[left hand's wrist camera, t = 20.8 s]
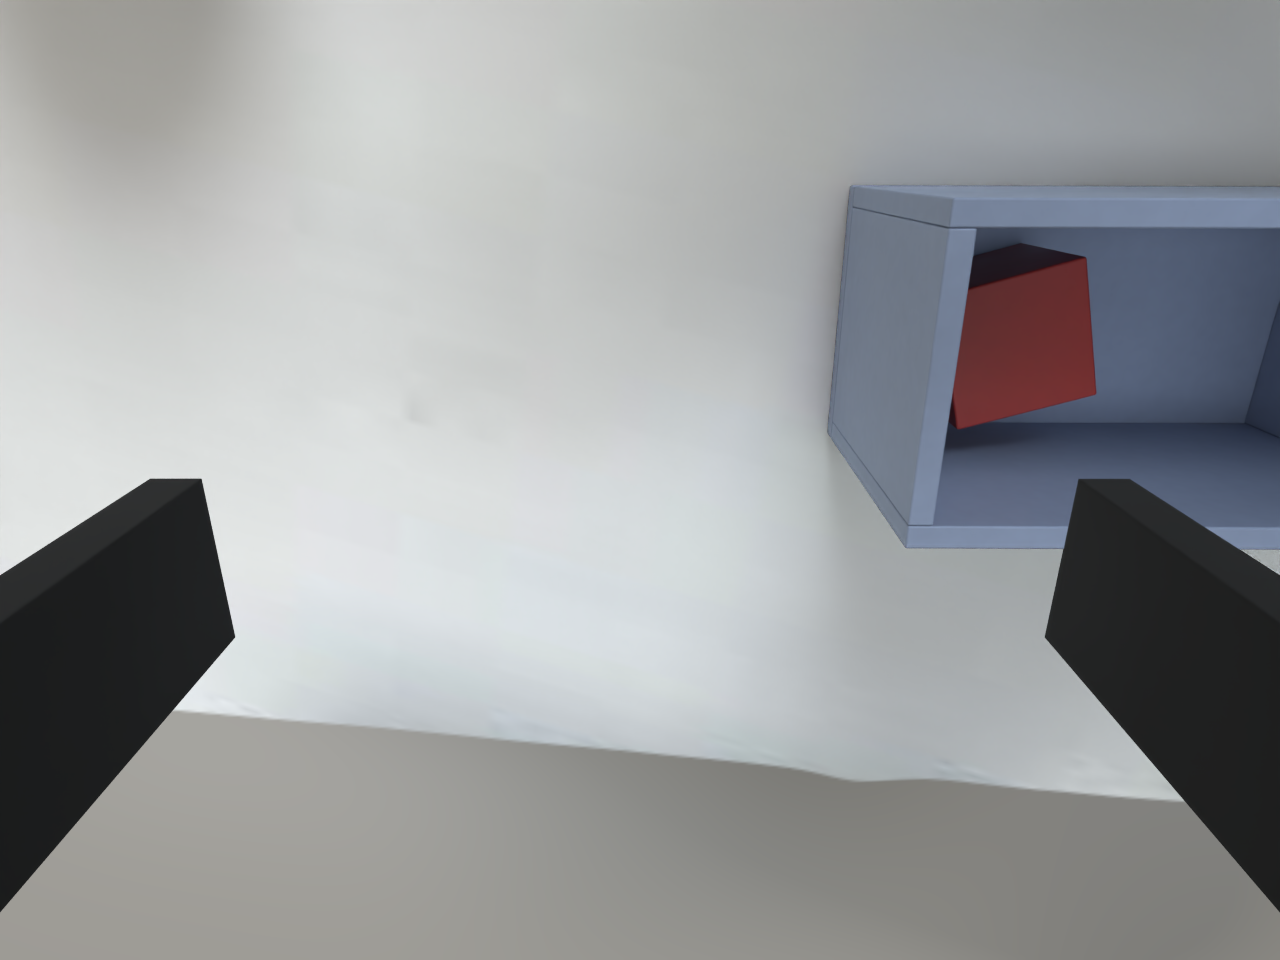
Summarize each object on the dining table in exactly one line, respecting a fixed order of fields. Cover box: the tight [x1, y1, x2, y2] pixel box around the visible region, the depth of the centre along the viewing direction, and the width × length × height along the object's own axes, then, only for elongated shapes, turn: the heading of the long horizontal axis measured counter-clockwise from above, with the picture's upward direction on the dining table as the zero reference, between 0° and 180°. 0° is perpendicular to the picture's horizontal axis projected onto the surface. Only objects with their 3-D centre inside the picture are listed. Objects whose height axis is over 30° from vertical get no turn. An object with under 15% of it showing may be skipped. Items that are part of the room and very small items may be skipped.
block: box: [948, 243, 1096, 429], centre depth 29 cm, size 5×5×5 cm
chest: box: [828, 185, 1280, 550], centre depth 27 cm, size 17×10×11 cm, turn 90°
